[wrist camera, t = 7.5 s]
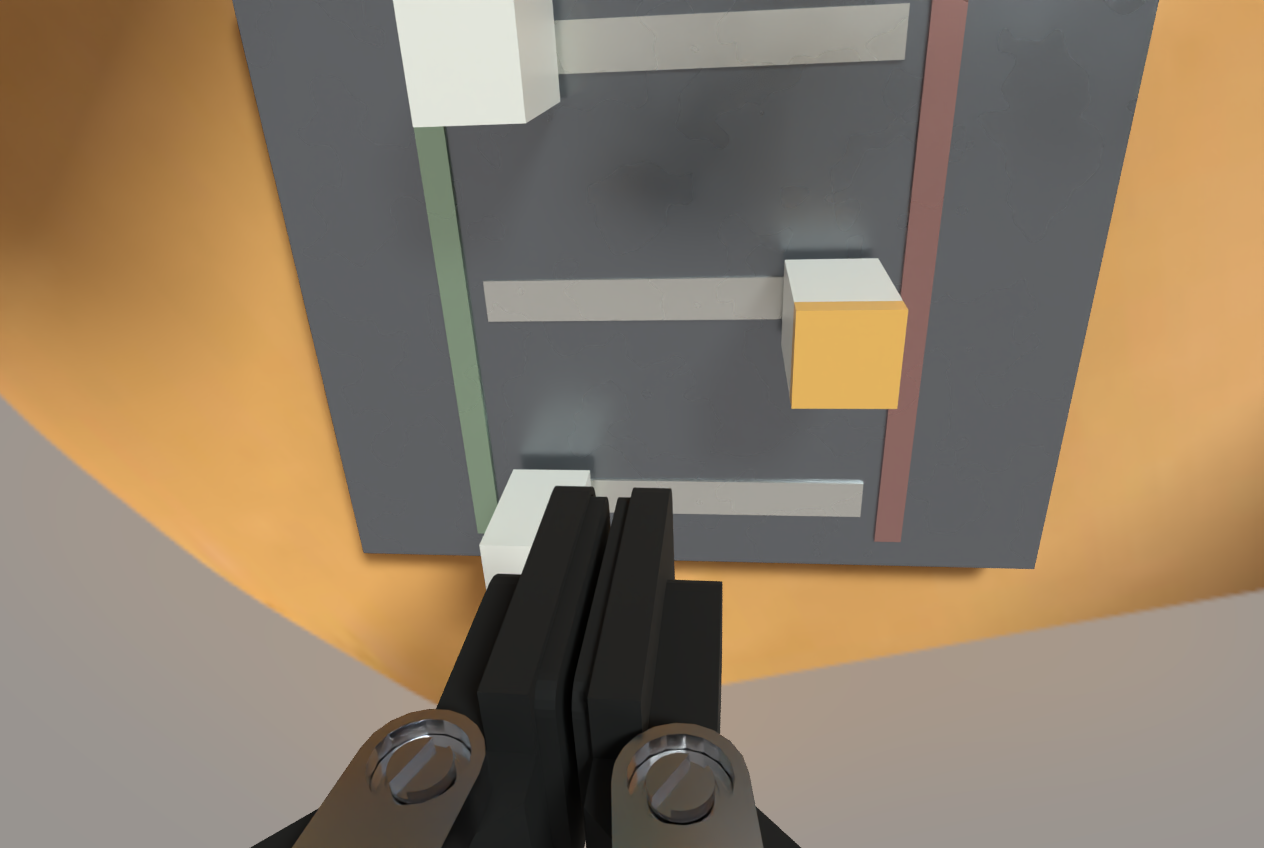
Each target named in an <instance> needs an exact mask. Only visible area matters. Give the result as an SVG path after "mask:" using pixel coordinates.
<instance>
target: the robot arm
mask: <svg viewBox="0 0 1264 848" xmlns="http://www.w3.org/2000/svg"><path fill="white" fill-rule="evenodd" d="M721 673H722V582H720V581H692V580H675V572H674V536H673V501H672V490H671V488H637V487H634V488H633V490H632V493H631V497H618V499H617V503H616V507H615V511H614V515H613V520H612V524H610V510H609V501H608V498H607V497H596V494H595V490H594V488H593V487H592V486H555V487H554V489H553V491H552V493H551V496H550V499H549V501H548V504H547V507H546V509H545V512H544V515H543V517H542V520H541V523H540V525H539V528H538V531H537V533H536V536H535V539H534V541H533V544H532V547H531V549H530V552H529V555H528V557H527V560H526V562H525V565H524V568H523V570H522V573H521V574H496V575H494V576H493V578H492V579H491V581H490V583H489V585H488V588H487V590H486V592H485V595H484V597H483V599H482V602H481V604H480V606H479V609H478V611H477V613H476V616H475V618H474V621H473V623H472V625H471V628H470V630H469V632H468V635H467V637H466V639H465V642H464V644H463V646H462V649H461V651H460V654H459V656H458V658H457V661H456V663H455V665H454V668H453V670H452V672H451V675H450V677H449V680H448V682H447V684H446V687H445V689H444V691H443V694H442V696H441V698H440V701H439V703H438V705H437V708H436V709H427V710H422V711H416V712H411V713H408V714H406V715H404V716H401V717H399V718H396V719H394V720H392V721H390V722H389V723H387V724H386V725H384V726H383V727H382V728H380V729H379V730H377V731H376V732H374V733H373V734H372V736H371V737H370V738H369V739H368V740H367V741H366V742H365V743H364V744H363V746H362V747H361V748H360V749H359V751H358V752H357V754H356V755H355V757H354V758H353V760H352V761H351V762H350V764H349V765H348V767H347V768H346V770H345V771H344V773H343V774H342V775H341V777H340V778H339V780H338V781H337V783H336V784H335V786H334V787H333V789H332V790H331V791H330V793H329V794H328V796H327V797H326V799H325V800H324V802H323V803H322V805H321V806H320V807H319V808H318V809H317V810H315V811H313V812H312V813H310V814H308V815H306V816H305V817H303V818H301V819H299V820H298V821H296V822H295V823H293V824H291V825H289V826H287V827H285V828H284V829H282V830H280V831H279V832H277V833H275V834H273V835H272V836H270V837H268V838H266V839H265V840H263V841H261V842H259V843H258V844H256V845H254V846H253V847H251V848H584V846H585V840H586V848H801V847H800V846H799V845H797V844H796V843H795V842H794V841H793V840H792V839H791V838H790V837H789V836H788V835H786V834H785V833H784V832H783V831H782V830H781V829H780V828H779V827H778V826H777V825H776V824H774V823H773V822H772V821H771V820H770V819H769V818H768V817H767V816H766V815H764V813H762V812H761V811H760V810H759V809H758V808H757V807H756V806H755V801H754V796H753V791H752V786H751V780H750V775H749V772H748V769H747V766H746V764H745V761H744V758H743V756H742V754H741V753H740V752H739V751H738V750H737V749H736V747H735V746H734V745H733V744H732V743H731V741H730V740H728V739H726V738H725V737H723V736H722V735H720V712H721V710H720V709H721Z"/></svg>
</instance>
